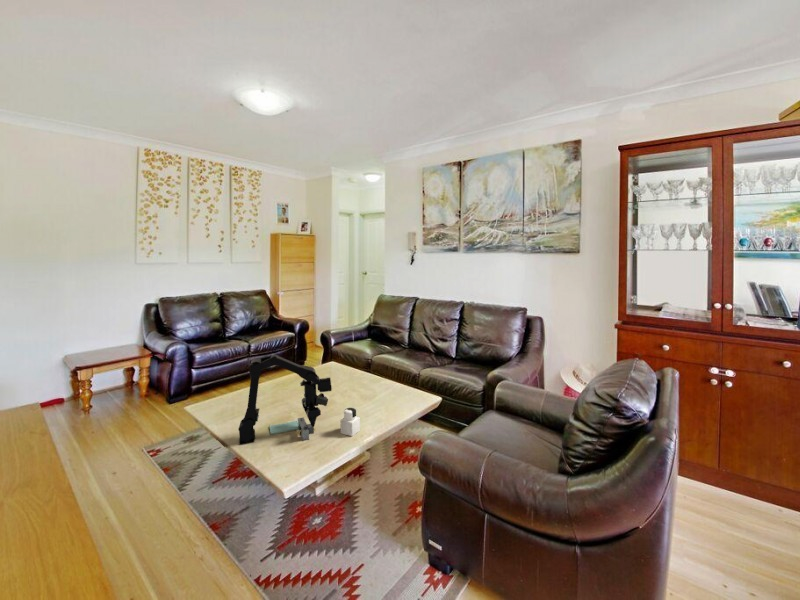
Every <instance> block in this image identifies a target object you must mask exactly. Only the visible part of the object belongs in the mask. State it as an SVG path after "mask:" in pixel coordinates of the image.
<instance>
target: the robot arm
mask: <svg viewBox="0 0 800 600" xmlns="http://www.w3.org/2000/svg"><path fill="white" fill-rule="evenodd" d="M272 366H277V367H279V368H282V369H285V370H287V371H289V372H292V373H294V374H297V375H298V376H299V377H300V378H301V379H302V381H301V382H300V387H303V388H304V390H303V391H304V393H303V398H302V399H301V404H302V408H303V409H304V412H305V415H306V416H307V419H308V421H309V424H311V426H312V427H314V426H316V420H317V418H318V417H320V416H321V415H322V414H321V413H322V411H321V409H320V408H319V407H318V406H319V405H320V406H324V407H327V406H328V403H329V398H328V397H327V396H325V394H324V393H325V392H332V389H333V388H332V381H331V377H330V376H329V377H325V378H324V377H323V378H320V376H319V375H318V374H317V373H316V369H315V368H314V367H312V366H308V365H302V364H298V363H295V362H293V361H291V360H288V359H286V358H284V357H281V356H279V355H278V354H272V355H268V356H264V357H261V358H259V357H256V358H254V359H252V360H251V361H250V364H249V378H250V382H249V383H250V384H249V391H248V401H247V406H246V407H247V408H246V411H245V414H244V417H243V418H242V419H241V420H240V423H239V426H238V434H239V436H238V437H239V439H238V440H239V445H245V444H251V443H255V439H256V429H255V428H254V427H255V426H256V424H257V422H259V418H260V417H259V416H260V415H259V414H260V408H257V401H258V391H259V382H260V377H261V375H262V374H261V373H262V372H263V370H266V369H268V368H270V367H272ZM317 391H319V394H318V395H317Z"/></svg>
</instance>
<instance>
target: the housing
mask: <svg viewBox="0 0 800 600" xmlns="http://www.w3.org/2000/svg"><path fill="white" fill-rule="evenodd" d="M297 422H298V428H299V429H298V430H299V432H301V434H300V436H301V440H302V441H308V440H310V434H309V429H308V427H307V424H308V423H307V422H306V420H305V417H298V418H297Z"/></svg>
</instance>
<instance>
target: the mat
mask: <svg viewBox="0 0 800 600" xmlns="http://www.w3.org/2000/svg"><path fill="white" fill-rule="evenodd" d="M268 426H269V434H270V435H277V434H280V433H286V432H287V433H288V432H291V431H292V432H293V431H296V430H299V428H298V420H293V421H288V422H283V423H276V424H272V425H268Z"/></svg>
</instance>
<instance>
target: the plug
mask: <svg viewBox="0 0 800 600" xmlns="http://www.w3.org/2000/svg"><path fill="white" fill-rule="evenodd" d="M306 424H307V427H308V429H309V435H312V434H314V433H315V431H316V427H315V426H316V425H314V427H312V426H311V423H306ZM295 431H296V432H295V433H296V436H297V437H300V436H301V431H299V429H298V430H295Z"/></svg>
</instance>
